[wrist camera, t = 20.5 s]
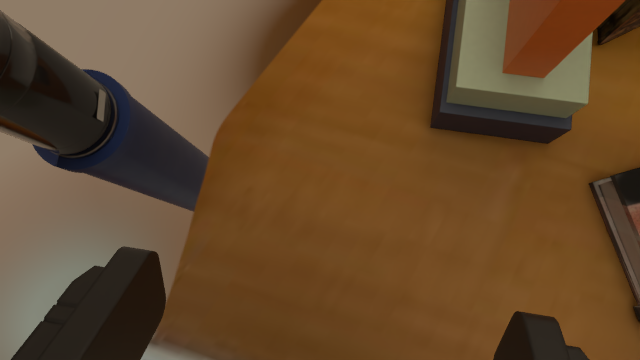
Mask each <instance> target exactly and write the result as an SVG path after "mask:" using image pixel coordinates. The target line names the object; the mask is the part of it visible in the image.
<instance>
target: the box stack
mask: <svg viewBox="0 0 640 360" xmlns="http://www.w3.org/2000/svg"><path fill="white" fill-rule="evenodd" d="M509 1H510V0H446V7H445V15H444V23H443V31H442V39H441V47H440V55H439V63H438V71H437V79H436V87H435V95H434V103H433V111H432V118H431V126H430V127H431V128H438V129H445V130H453V131H460V132H467V133H475V134H482V135H489V136H496V137H504V138H511V139H518V140H526V141H533V142H540V143H550V142H552V141H553V140H555V139H556V138H558V137H560V136H561V135H563V134H565V133H566V132H568V131H570V130H571V122H572V114H573V113H575V112H576V111H578V110H579V109H581V108H582V107H584V106H585V105H587V104H588V96H589V81H590V66H591V50H592V35H593V32H592V33H591V34H590V35H589V36H588V37H587V38H585V39H584V40H583V41H582V42H581V43H580V44H579V45H578V46H577V47H576V48H575V49H574V50H573V51H572V52H571V53H570V54H569V55H568V56H567V57H566V58H564V59H563V60H562V61H561V62H560V63H559V64H558V65H557V66H556V67H555V68H554V69H553V70H552V71H551V72H550V73H549V74H548V75H547V76H546V77H545V78H539V77H531V76H523V75H515V74H506V73H502V72H503V62H504V51H505V41H506V31H507V21H508V11H509Z"/></svg>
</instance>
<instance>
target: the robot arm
mask: <svg viewBox="0 0 640 360" xmlns="http://www.w3.org/2000/svg"><path fill="white" fill-rule="evenodd" d="M118 120H119V108H118V104H117V101H116V99H115V97H114V95H113V94H112V92H111V91H110V90H109V89H108V88H107V87H106V86H104V85H103V84H101V83H100V82H98V81H96V80H95V79H93V78H92V77H90V76H89V75H88V74H87V73H85V72H84V71H83V70H81V69H80V68H78V67H77V66H76V65H74V64H73V63H72V62H70V61H69V60H68V59H66V58H65V57H64V56H62V55H61V54H59V53H58V52H57V51H55V50H54V49H53V48H51V47H50V46H49V45H47V44H46V43H45V42H43V41H42V40H40V39H39V38H38V37H36V36H35V35H33V34H32V33H31V32H30V31H28V30H27V29H26V28H24V27H23V26H21V25H20V24H19V23H17V22H16V21H14V20H13V19H12V18H10V17H9V16H8V15H6V14H5V13H4V12H2V11H1V10H0V132H2V133H5V134H7V135H10V136H13V137H15V138H18V139H20V140H23V141H26V142H28V143H31V144H33V145H36V146H38V147H41V148H43V149H46V150H49V151H51V152H52V153H54V154H56V155H59V156H62V157H65V158H72V159H76V158H83V157H87V156H90V155H92V154H94V153H96V152H98V151H99V150H101V149H102V148H103V147H104V146H105V145H106V144H107V143H108V142H109V141H110V139H111V138H112V136H113V135H114V133H115V131H116V128H117V125H118ZM165 303H166V294H165V288H164V283H163V277H162V272H161V267H160V261H159V257H158V254H157V253H156V252H154V251H149V250H143V249H136V248H130V247H121V248H120V249H118V250H117V252H116V253H115V254H114V256H113V257H112V258H111V260H110V261H109V262H108V264H107V265H106V266H105V267H99V266H94V267H92V268H91V269H89V270H88V271H87V272H85V273H84V274H82V275H81V276H79V277H78V278H76V279H75V280H74V281H73V282H72V283H71V284H70V285H69V286H68V288H67V289H66V290H65V292H64V293H63V294H62V295H61V297H60V298H59V299H58V300H57V304H56V305H53V307H52V308H51V309H50V311H49V312H48V313H47V315H46V316H45V317H44V321H43V322H42V321H41V322H40V323H39V325H38V326H37V327H36V328H35V330H34V331H33V332H32V333H31V335H30V336H29V337H28V339H27V340H26V341H25V342H24V344H23V345H22V346H21V347H20V349H19V350H18V351H17V352H16V354H15V355H14V356H13V358H12V359H11V360H140V359H141V357H142V356H143V354H144V352H145V350H146V348H147V346H148V344H149V342H150V340H151V339H152V337H153V335H154V333H155V331H156V329H157V327H158V325H159V323H160V321H161V319H162V316H163V313H164V309H165ZM493 360H589V359H588V358H587V356H586V355H585V354H584V353H583V351H582V350H581V349H580V348H579V347H573V346H567V345H566V344H565V341H564V338H563V335H562V332H561V329H560V326H559V323H558V321H557V320H556V319H555V318H554V317H549V316H543V315H537V314H531V313H525V312H519V311H517V312H515V313H514V314H513V316H512V318H511V320H510V322H509V324H508V326H507V329H506V331H505V333H504V335H503V337H502V339H501V341H500V343H499V346H498V348H497V350H496V352H495V355H494V359H493Z"/></svg>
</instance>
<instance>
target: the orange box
mask: <svg viewBox="0 0 640 360" xmlns="http://www.w3.org/2000/svg"><path fill="white" fill-rule="evenodd" d="M624 1H625V0H510V1H509V11H508V21H507V31H506V41H505V51H504V62H503V72H502V73H506V74H515V75H523V76H531V77H539V78H545V77H546V76H547V75H548V74H549V73H550V72H551V71H552V70H553V69H554V68H555V67H556V66H557V65H558V64H559V63H560V62H561V61H562V60H563V59H564V58H566V57H567V56H568V55H569V54H570V53H571V52H572V51H573V50H574V49H575V48H576V47H577V46H578V45H579V44H580V43H581V42H582V41H583V40H584V39H585V38H587V37H588V36H589V35H590V34H591V33H592V32H593V31H594V30H595V29H596V28H597V27H598V26H599V25H600V24H601V23H602V22H603V21H604V20H605V19H606V18H607V17H609V16H610V15H611V14H612V13H613V12H614V11H615V10H616V9H617V8H618V7H619V6H620V5H621V4H622V3H623V2H624Z"/></svg>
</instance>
